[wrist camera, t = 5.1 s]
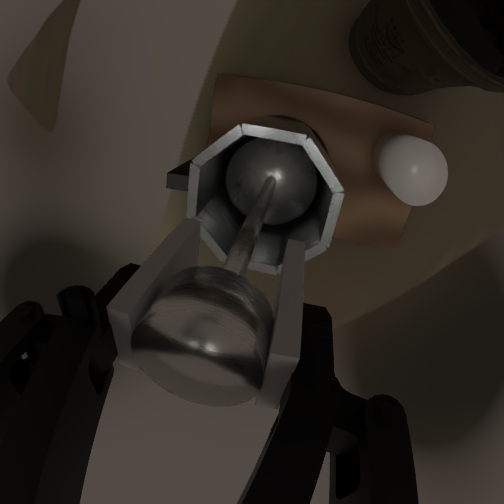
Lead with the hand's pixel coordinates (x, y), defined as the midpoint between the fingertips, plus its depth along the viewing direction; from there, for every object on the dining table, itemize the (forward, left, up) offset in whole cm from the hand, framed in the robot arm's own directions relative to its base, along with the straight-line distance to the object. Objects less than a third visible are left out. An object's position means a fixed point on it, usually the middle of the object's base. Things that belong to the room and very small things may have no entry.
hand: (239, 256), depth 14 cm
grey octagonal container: (0, 0, -20) cm, 20 cm away
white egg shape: (-4, +13, -20) cm, 24 cm away
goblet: (0, 0, -14) cm, 14 cm away
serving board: (-1, +4, -21) cm, 22 cm away
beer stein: (-18, +12, -22) cm, 31 cm away
